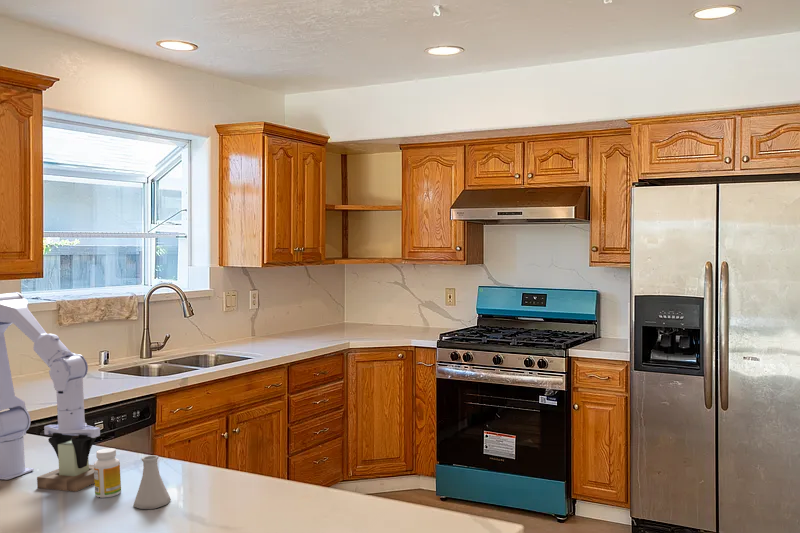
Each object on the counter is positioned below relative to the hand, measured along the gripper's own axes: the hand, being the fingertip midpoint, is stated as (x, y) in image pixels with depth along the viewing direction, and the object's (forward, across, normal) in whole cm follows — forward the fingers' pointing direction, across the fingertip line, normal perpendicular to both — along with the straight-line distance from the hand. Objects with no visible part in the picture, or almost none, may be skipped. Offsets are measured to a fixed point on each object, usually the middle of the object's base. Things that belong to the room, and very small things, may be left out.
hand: (73, 466), depth 177 cm
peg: (+2, 0, 0) cm, 2 cm away
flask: (+4, -28, +8) cm, 29 cm away
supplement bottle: (+4, -14, +5) cm, 15 cm away
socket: (+4, 0, 0) cm, 4 cm away
